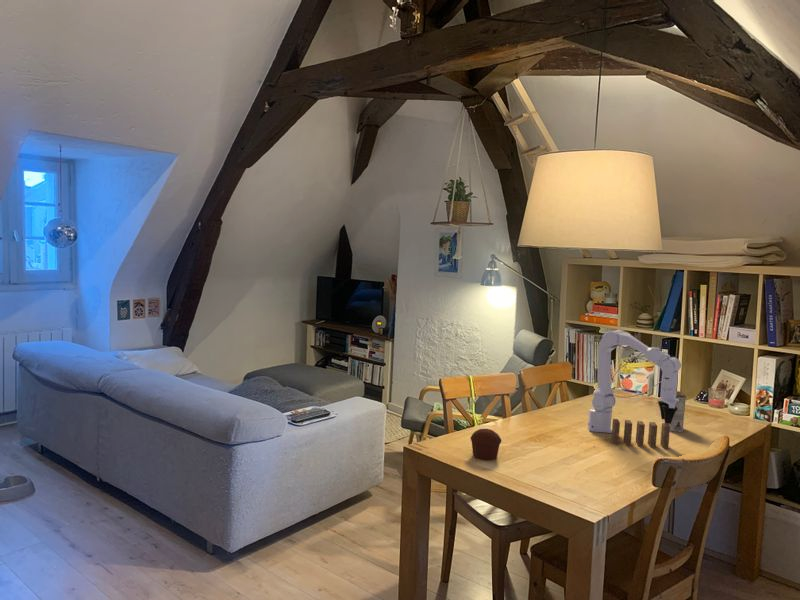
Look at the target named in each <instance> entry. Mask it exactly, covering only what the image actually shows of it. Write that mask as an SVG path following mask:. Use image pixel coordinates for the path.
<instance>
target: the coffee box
mask: <svg viewBox="0 0 800 600" xmlns="http://www.w3.org/2000/svg"><path fill="white" fill-rule="evenodd" d="M676 399H678V400H679V402H676V403H675V407H677V408H678V409H677V411H676V412H675V414H674V416H673V419H672V422H671V424H668V425H669V426H670V432H676V431H678V432H679V433H683V432H684V431H683V429H684V420H685V412H686V411H685V409H686V399H687V396H686V395H685V394H684V392H682V391H679V390H678V391H676ZM663 423H665V420H664V421H663Z"/></svg>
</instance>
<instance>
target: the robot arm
mask: <svg viewBox="0 0 800 600" xmlns="http://www.w3.org/2000/svg"><path fill="white" fill-rule="evenodd" d="M619 346H629V347H631V348H632V349H634V350H636V351H638V352H639V353H641V354H643V355H644V357H645V359H646V360H647V361H648V362H650V363H652V364H654V365H655V366H657V367H659V368H660V370H661V372H662V374H661V385H660V397H659V400H658V401H657V403H658V406H659V410H660V417H661V420H664V421H665V423H666V424H671V422H672V419H673V416H674V414H675V412H676V411H677V409H678V408H677V407H675V403H676V402H679V400H678V399H676V391H677V387H678V378H679V377H678V376H679V371H680V369H681V367H682V363H681V361H680V360H679V359H678V358H677V357H675V356H672V357H671V355H670V354H667V353H665V352H663V351H661V349H660V348H659V347H656V346H651V347H649V346H648V345H646V344H644V343H643V342H642V341H641V340H639V339H637V338H636V337H634V336H633V335H632V334H630V333H629V332H628V331H625V330H623V329H617V330H608V331H606V332H605V333H604V334H602V335H601V339H600V341H599V343H598V345H597V388H596V389H595V391H594V392H593V394H594V395H593V397H592V400H591V404H592V408H590V409H589V411H588V418H587V419H588V420H587V428H588V430H589V432H596V433H604V434H605V433H607V434H608V433H609V434H612V420H613V419H612V418H613V416H612V415H613V407H614V406H616V397H615V394H614V390H613V389H612V376H611V375H612V372H611V371H612V351H613V350H615V349H616V348H617V347H619Z"/></svg>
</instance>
